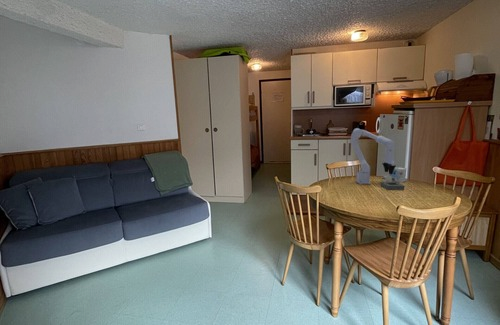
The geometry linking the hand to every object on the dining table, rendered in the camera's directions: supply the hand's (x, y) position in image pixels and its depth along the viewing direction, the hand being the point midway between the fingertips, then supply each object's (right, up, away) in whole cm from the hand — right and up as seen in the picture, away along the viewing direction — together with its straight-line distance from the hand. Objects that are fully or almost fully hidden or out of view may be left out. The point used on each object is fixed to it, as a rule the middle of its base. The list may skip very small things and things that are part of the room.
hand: (388, 173), depth 210 cm
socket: (-2, -11, -9) cm, 14 cm away
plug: (0, -9, +2) cm, 9 cm away
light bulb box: (+12, -7, +11) cm, 18 cm away
